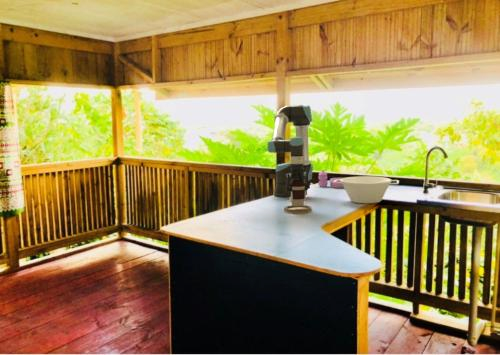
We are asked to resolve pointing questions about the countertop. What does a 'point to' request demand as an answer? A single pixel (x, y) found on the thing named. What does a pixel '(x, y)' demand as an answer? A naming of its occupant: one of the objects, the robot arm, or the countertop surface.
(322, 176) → the container set
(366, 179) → the pot
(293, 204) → the coffee cup
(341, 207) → the countertop surface
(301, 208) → the round tray
